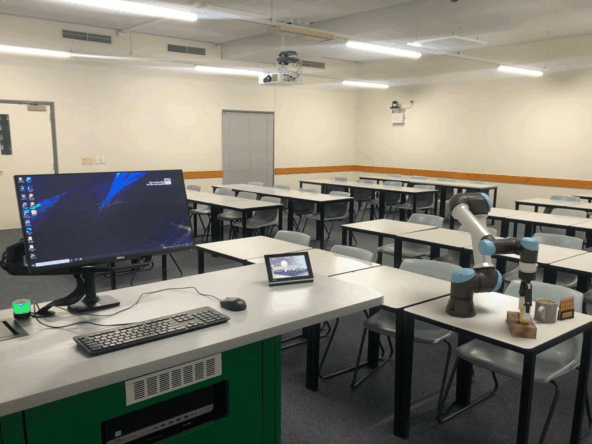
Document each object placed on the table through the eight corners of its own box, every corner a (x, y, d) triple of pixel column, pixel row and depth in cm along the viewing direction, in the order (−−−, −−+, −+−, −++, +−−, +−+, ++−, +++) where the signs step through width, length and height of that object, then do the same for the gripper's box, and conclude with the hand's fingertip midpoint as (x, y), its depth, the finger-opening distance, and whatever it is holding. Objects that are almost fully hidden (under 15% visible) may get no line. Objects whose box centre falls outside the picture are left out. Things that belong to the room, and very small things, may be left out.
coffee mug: (541, 315, 262) (543, 297, 261) (559, 321, 254) (561, 302, 252) (525, 319, 256) (527, 301, 254) (544, 326, 247) (545, 306, 246)
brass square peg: (518, 333, 237) (521, 309, 235) (517, 331, 240) (519, 307, 238) (526, 334, 236) (528, 310, 234) (525, 331, 239) (527, 307, 237)
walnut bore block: (512, 336, 234) (513, 326, 233) (506, 320, 255) (507, 310, 254) (536, 338, 231) (536, 328, 230) (527, 322, 252) (528, 312, 251)
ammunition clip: (570, 316, 261) (572, 294, 259) (573, 317, 259) (576, 295, 257) (556, 319, 256) (559, 297, 254) (560, 321, 255) (562, 298, 253)
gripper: (541, 278, 220) (537, 324, 224) (531, 265, 244) (527, 306, 248) (523, 277, 222) (519, 322, 226) (514, 263, 246) (511, 305, 249)
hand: (523, 314), depth 237 cm, fingers open, 13 cm apart
